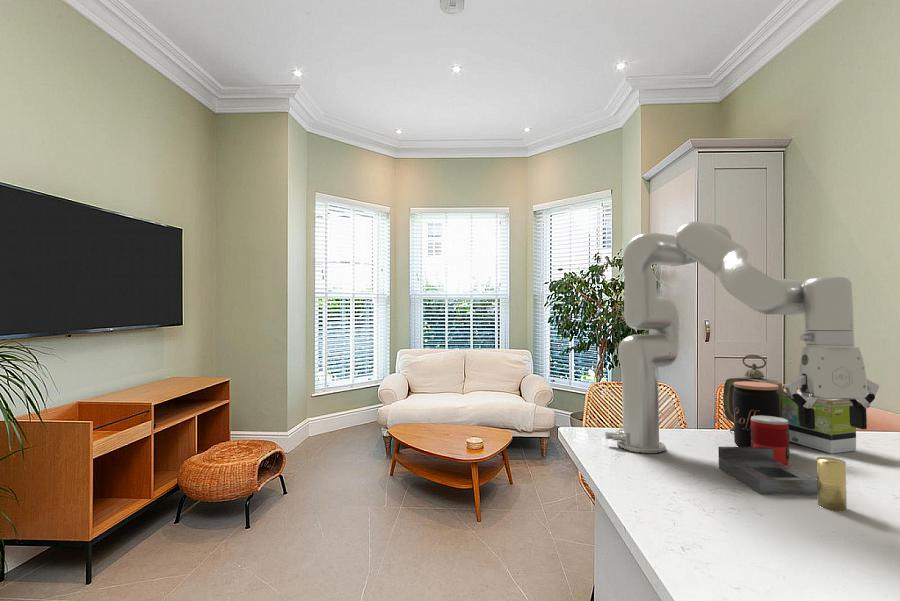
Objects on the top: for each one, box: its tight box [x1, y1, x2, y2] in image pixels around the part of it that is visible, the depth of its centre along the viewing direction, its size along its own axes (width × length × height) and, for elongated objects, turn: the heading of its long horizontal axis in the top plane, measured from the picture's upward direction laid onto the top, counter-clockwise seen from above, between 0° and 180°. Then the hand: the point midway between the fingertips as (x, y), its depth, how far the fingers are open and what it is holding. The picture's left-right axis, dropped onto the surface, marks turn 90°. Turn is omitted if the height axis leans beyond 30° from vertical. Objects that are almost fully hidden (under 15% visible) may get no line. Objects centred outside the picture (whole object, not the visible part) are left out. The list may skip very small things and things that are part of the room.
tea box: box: [781, 389, 857, 455], centre depth 135 cm, size 15×10×15 cm, turn 17°
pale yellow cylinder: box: [816, 456, 848, 513], centre depth 92 cm, size 4×4×9 cm
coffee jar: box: [733, 381, 779, 447], centre depth 132 cm, size 11×11×18 cm
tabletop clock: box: [722, 354, 785, 432], centre depth 145 cm, size 14×9×25 cm, turn 28°
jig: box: [717, 446, 817, 496], centre depth 106 cm, size 12×16×5 cm
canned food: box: [751, 416, 790, 466], centre depth 120 cm, size 8×8×11 cm
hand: (832, 427), depth 92 cm, fingers open, 9 cm apart
